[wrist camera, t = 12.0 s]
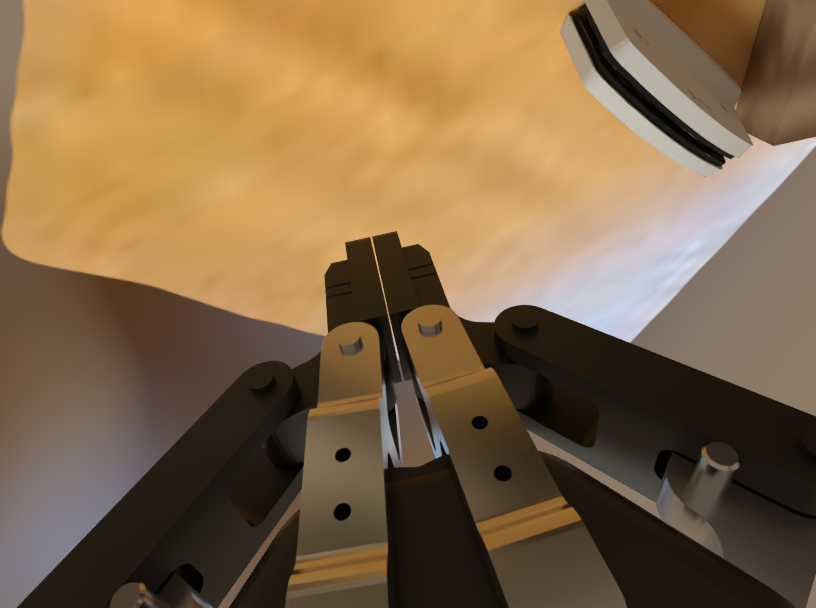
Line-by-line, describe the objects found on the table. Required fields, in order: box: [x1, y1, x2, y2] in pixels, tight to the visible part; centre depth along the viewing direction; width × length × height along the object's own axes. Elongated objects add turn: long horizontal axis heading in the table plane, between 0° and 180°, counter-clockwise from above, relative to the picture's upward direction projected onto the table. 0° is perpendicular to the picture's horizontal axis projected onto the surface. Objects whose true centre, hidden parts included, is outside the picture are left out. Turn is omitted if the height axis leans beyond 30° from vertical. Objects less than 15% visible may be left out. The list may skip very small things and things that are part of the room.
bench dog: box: [736, 0, 816, 146], centre depth 38 cm, size 12×4×5 cm, turn 9°
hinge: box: [560, 0, 753, 177], centre depth 37 cm, size 17×5×10 cm, turn 59°
